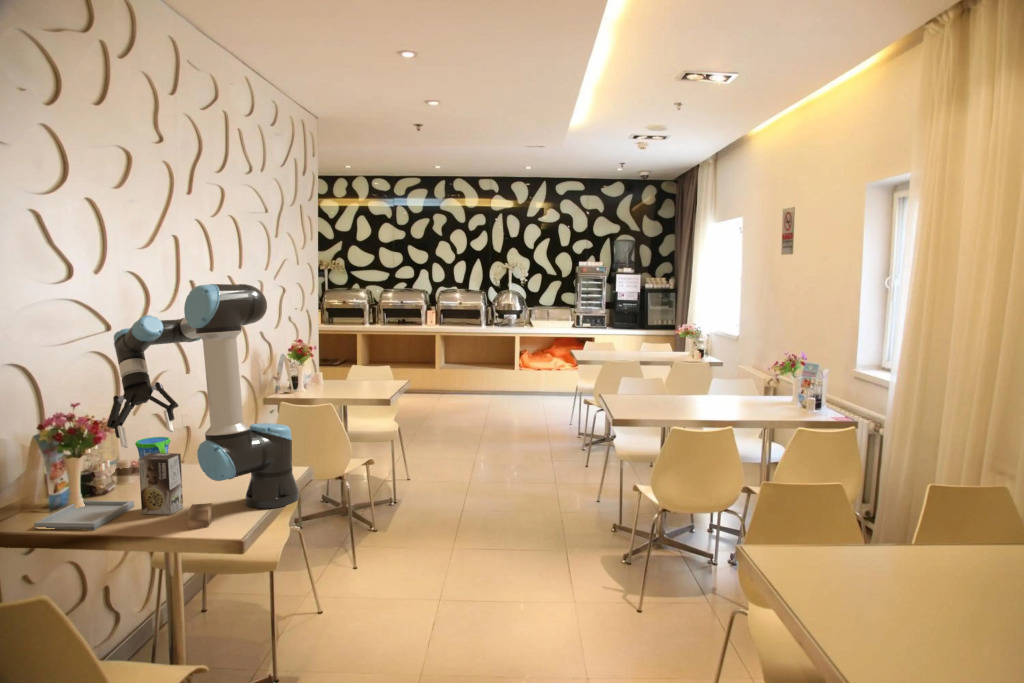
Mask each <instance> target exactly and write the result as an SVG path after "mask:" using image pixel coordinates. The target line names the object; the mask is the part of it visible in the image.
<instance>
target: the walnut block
mask: <svg viewBox="0 0 1024 683" xmlns="http://www.w3.org/2000/svg"><path fill="white" fill-rule="evenodd" d="M187 519H188V520H187V522H188V523H187V525H188V529H189V528H191V529H196V528H195V527H203V528H208V527H207V526H209V525H210V526H211V524H212V522H213V521H214V520H213V503H212V502H211V503H207V502H206V503H197V504H196V503H194V504H191V505H190V507H189V508H188V510H187ZM212 520H213V521H212ZM210 526H209V527H210Z"/></svg>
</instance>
